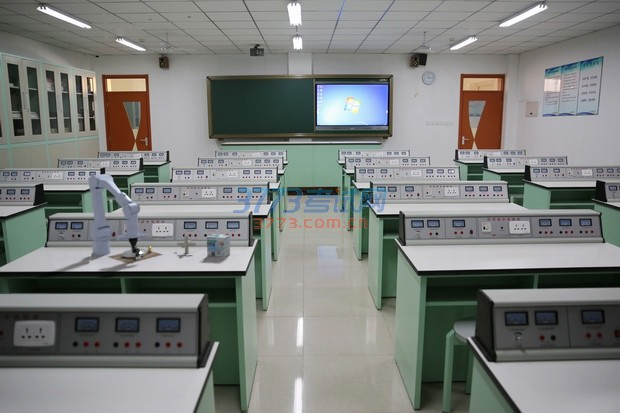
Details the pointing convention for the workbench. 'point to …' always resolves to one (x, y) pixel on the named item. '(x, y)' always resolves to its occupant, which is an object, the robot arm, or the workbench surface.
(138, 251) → the crank
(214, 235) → the light bulb box
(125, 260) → the base board
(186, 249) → the pipe connector
